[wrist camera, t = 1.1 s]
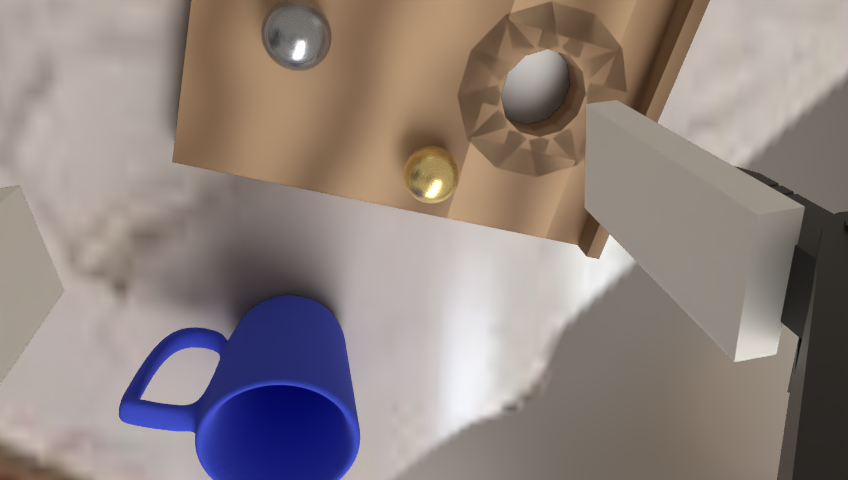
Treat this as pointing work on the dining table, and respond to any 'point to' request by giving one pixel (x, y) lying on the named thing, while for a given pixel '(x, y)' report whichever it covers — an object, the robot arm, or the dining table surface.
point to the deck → (427, 100)
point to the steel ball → (296, 34)
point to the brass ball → (431, 174)
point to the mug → (263, 396)
